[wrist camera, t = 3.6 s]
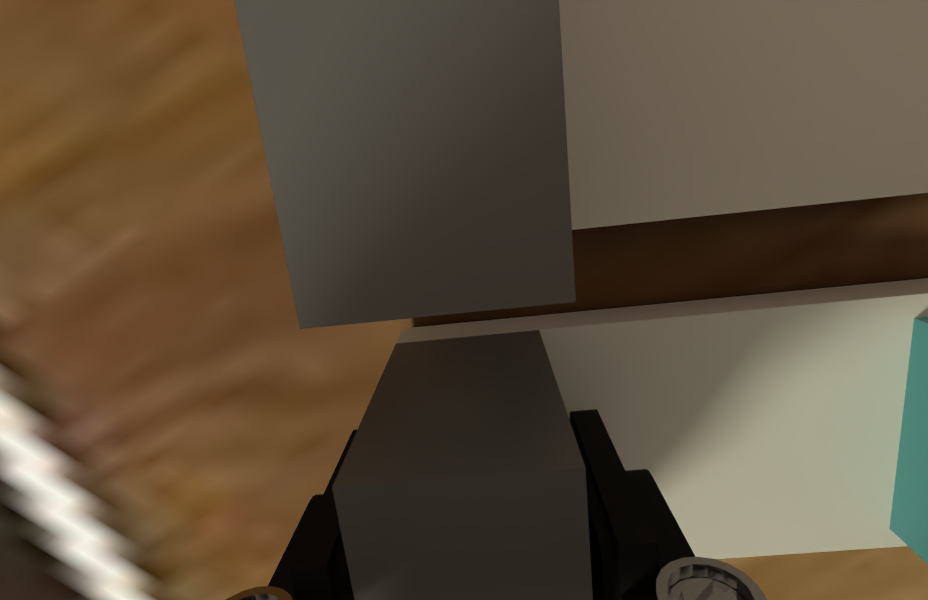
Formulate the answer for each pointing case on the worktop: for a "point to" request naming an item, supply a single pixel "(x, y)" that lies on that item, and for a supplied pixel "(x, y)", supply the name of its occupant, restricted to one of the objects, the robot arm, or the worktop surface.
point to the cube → (914, 450)
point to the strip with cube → (628, 437)
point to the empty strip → (741, 105)
